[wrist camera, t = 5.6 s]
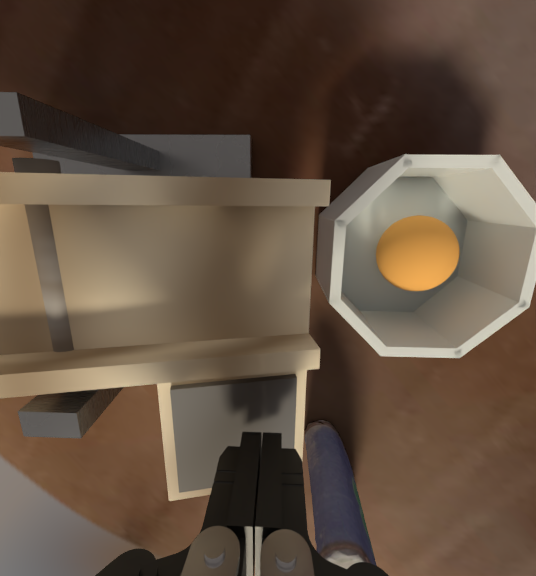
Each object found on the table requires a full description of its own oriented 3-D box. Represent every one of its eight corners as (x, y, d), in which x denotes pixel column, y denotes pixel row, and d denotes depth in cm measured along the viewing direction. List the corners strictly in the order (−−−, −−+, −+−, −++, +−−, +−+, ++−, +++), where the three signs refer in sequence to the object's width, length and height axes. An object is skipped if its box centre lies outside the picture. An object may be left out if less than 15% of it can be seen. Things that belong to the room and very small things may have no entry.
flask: (299, 421, 23) (318, 608, 12) (339, 414, 22) (392, 597, 12) (325, 515, 25) (359, 737, 15) (361, 509, 25) (422, 731, 14)
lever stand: (252, 139, 18) (214, 53, 7) (252, 334, 21) (227, 462, 11) (45, 138, 18) (-265, 56, 8) (78, 330, 21) (-109, 450, 11)
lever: (307, 170, 12) (340, 160, 9) (295, 461, 16) (315, 522, 13) (-314, 152, 9) (-583, 127, 6) (-141, 525, 12) (-249, 626, 9)
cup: (481, 168, 18) (568, 154, 12) (453, 317, 20) (516, 360, 15) (321, 167, 18) (338, 153, 13) (313, 314, 20) (325, 355, 15)
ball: (478, 216, 16) (446, 218, 13) (464, 291, 17) (431, 306, 14) (402, 213, 19) (364, 214, 16) (394, 277, 20) (357, 288, 17)
